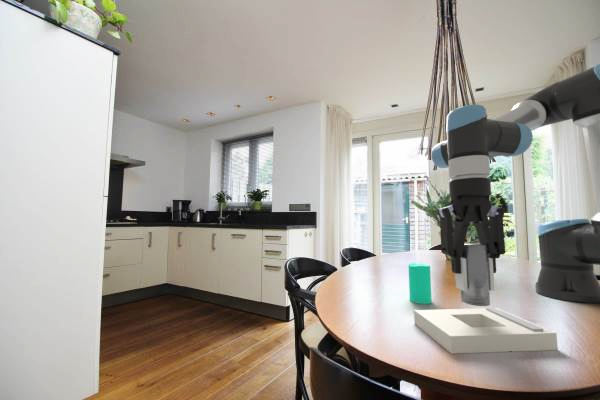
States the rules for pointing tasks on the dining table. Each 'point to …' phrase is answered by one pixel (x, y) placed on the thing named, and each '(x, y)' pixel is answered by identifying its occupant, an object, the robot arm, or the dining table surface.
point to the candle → (420, 283)
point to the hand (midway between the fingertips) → (474, 288)
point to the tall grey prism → (476, 275)
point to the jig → (483, 331)
